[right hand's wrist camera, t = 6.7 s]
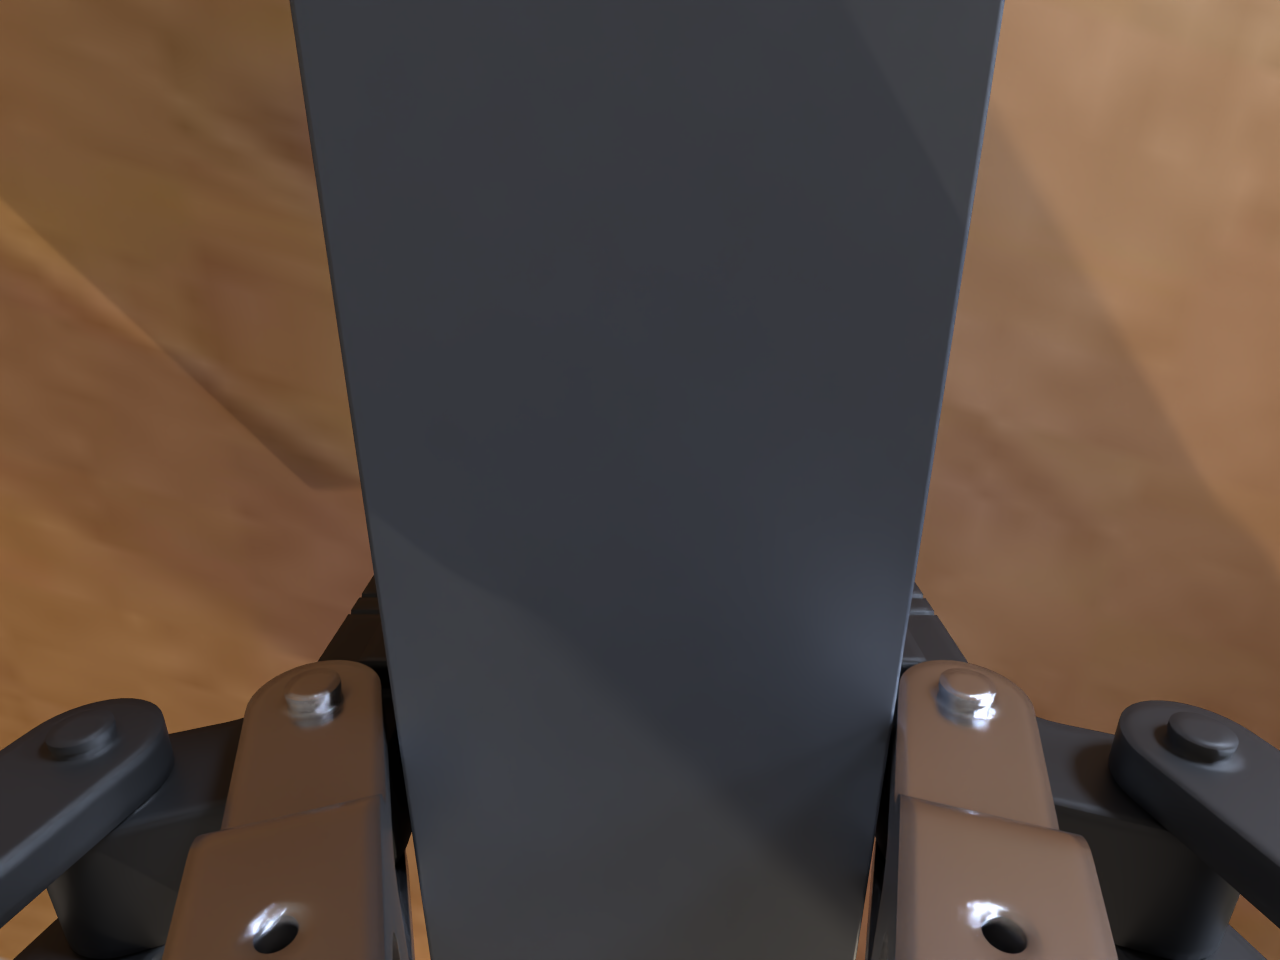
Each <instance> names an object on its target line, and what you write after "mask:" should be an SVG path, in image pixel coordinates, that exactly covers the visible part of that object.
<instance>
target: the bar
mask: <svg viewBox="0 0 1280 960" xmlns="http://www.w3.org/2000/svg"><path fill="white" fill-rule="evenodd" d="M1004 2H1005V0H290V6H291V13H292V20H293V27H294V34H295V40H296V47H297V54H298V61H299V68H300V74H301V81H302V88H303V95H304V102H305V108H306V115H307V122H308V129H309V136H310V142H311V149H312V156H313V163H314V169H315V176H316V183H317V190H318V197H319V203H320V210H321V217H322V224H323V231H324V237H325V244H326V251H327V258H328V265H329V271H330V278H331V285H332V292H333V299H334V305H335V312H336V319H337V326H338V333H339V339H340V346H341V353H342V360H343V366H344V373H345V380H346V387H347V394H348V400H349V407H350V414H351V421H352V428H353V434H354V441H355V448H356V455H357V462H358V468H359V475H360V482H361V489H362V496H363V502H364V509H365V516H366V523H367V529H368V536H369V543H370V550H371V557H372V563H373V570H374V577H375V584H376V591H377V597H378V604H379V611H380V618H381V625H382V631H383V638H384V645H385V652H386V659H387V665H388V672H389V679H390V686H391V693H392V699H393V706H394V713H395V720H396V726H397V733H398V740H399V747H400V754H401V760H402V767H403V774H404V781H405V788H406V794H407V801H408V808H409V815H410V822H411V828H412V835H413V842H414V849H415V856H416V862H417V869H418V876H419V883H420V890H421V896H422V903H423V910H424V917H425V923H426V930H427V937H428V944H429V951H430V957H431V960H856V954H857V947H858V941H859V934H860V928H861V922H862V915H863V909H864V902H865V896H866V889H867V883H868V877H869V870H870V864H871V857H872V851H873V844H874V838H875V832H876V825H877V819H878V812H879V806H880V799H881V793H882V786H883V780H884V774H885V767H886V761H887V754H888V748H889V741H890V735H891V729H892V722H893V716H894V709H895V703H896V696H897V690H898V684H899V677H900V671H901V664H902V658H903V651H904V645H905V639H906V632H907V626H908V619H909V613H910V606H911V600H912V593H913V587H914V581H915V574H916V568H917V561H918V555H919V548H920V542H921V536H922V529H923V523H924V516H925V510H926V503H927V497H928V491H929V484H930V478H931V471H932V465H933V458H934V452H935V446H936V439H937V433H938V426H939V420H940V413H941V407H942V400H943V394H944V388H945V381H946V375H947V368H948V362H949V355H950V349H951V343H952V336H953V330H954V323H955V317H956V310H957V304H958V298H959V291H960V285H961V278H962V272H963V265H964V259H965V252H966V246H967V240H968V233H969V227H970V220H971V214H972V207H973V201H974V195H975V188H976V182H977V175H978V169H979V162H980V156H981V150H982V143H983V137H984V130H985V124H986V117H987V111H988V105H989V98H990V92H991V85H992V79H993V72H994V66H995V59H996V53H997V47H998V40H999V34H1000V27H1001V21H1002V14H1003V8H1004Z"/></svg>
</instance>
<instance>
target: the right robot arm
mask: <svg viewBox="0 0 1280 960" xmlns="http://www.w3.org/2000/svg"><path fill="white" fill-rule="evenodd" d="M411 832H412V828H411V822H410V815H409V808H408V801H407V794H406V788H405V781H404V774H403V767H402V760H401V754H400V747H399V740H398V733H397V726H396V720H395V713H394V706H393V699H392V693H391V686H390V679H389V672H388V665H387V659H386V652H385V645H384V638H383V631H382V625H381V618H380V611H379V604H378V597H377V591H376V584H375V577H374V576H373V577H372V579H371V580H370V582H369V584H368V585H367V587H366V588H365V590H364V591H363V593H362V598H359V599H358V600H357V602H356V604H355V605H354V607H353V608H352V610H351V614H348V616H347V617H346V619H345V620H344V622H343V624H342V625H341V627H340V628H339V630H338V631H337V633H336V634H335V636H334V637H333V639H332V640H331V642H330V644H329V645H328V647H327V648H326V650H325V651H324V653H323V654H322V656H321V657H320V659H319V660H318V662H314V663H310V664H306V665H302V666H299V667H296V668H294V669H291V670H289V671H286V672H284V673H282V674H280V675H278V676H276V677H275V678H273V679H272V680H270V681H269V682H267V683H266V684H264V685H263V686H262V687H261V688H260V689H259V690H258V691H257V692H256V693H255V694H254V695H253V696H252V698H251V699H250V701H249V702H248V705H247V708H246V711H245V715H244V718H241V719H238V720H234V721H230V722H226V723H221V724H216V725H211V726H206V727H201V728H197V729H192V730H187V731H182V732H177V733H172V734H168V731H167V727H166V724H165V720H164V717H163V714H162V711H161V710H160V709H159V708H158V707H157V706H156V705H155V704H153V703H151V702H148V701H145V700H141V699H133V698H120V699H110V700H105V701H99V702H95V703H91V704H87V705H83V706H80V707H78V708H75V709H72V710H69V711H67V712H64V713H62V714H60V715H57V716H55V717H53V718H51V719H49V720H47V721H45V722H44V723H42V724H40V725H39V726H37V727H35V728H34V729H32V730H31V731H29V732H28V733H26V734H25V735H23V736H22V737H20V738H19V739H17V740H16V741H14V742H13V743H11V744H10V745H8V746H7V747H5V748H4V749H2V750H1V751H0V928H1V927H3V926H4V925H5V924H6V923H7V922H8V921H9V920H11V919H12V918H13V917H14V916H15V915H16V914H17V913H19V912H20V911H21V910H22V909H23V908H24V907H25V906H27V905H28V904H29V903H30V902H31V901H32V900H33V899H35V898H36V897H37V896H38V895H39V894H40V893H41V892H42V891H44V890H45V889H46V888H47V891H48V893H49V896H50V899H51V901H52V904H53V906H54V909H55V911H56V914H57V916H58V918H57V919H56V920H55V921H54V922H53V923H52V924H51V925H50V926H49V927H48V928H47V929H46V930H45V931H43V932H42V933H41V934H40V935H39V936H38V937H37V938H36V939H35V940H34V941H33V942H32V943H30V944H29V945H28V946H27V947H26V948H25V949H24V950H23V951H22V952H21V953H20V954H19V955H18V956H16V957H15V958H14V959H13V960H415V953H414V939H413V925H412V911H411V896H410V882H409V868H408V861H407V854H406V847H407V844H408V841H409V838H410V835H411ZM875 837H876V841H875V848H874V855H873V861H872V869H871V883H870V897H869V911H868V925H867V939H866V953H865V960H1267V959H1266V958H1265V957H1264V956H1262V955H1261V954H1260V953H1259V952H1258V951H1257V950H1256V949H1255V948H1254V947H1253V946H1252V945H1251V944H1250V943H1248V942H1247V941H1246V940H1245V939H1244V938H1243V937H1242V936H1241V935H1240V934H1239V933H1238V932H1237V931H1236V930H1234V929H1233V928H1232V927H1231V926H1230V925H1229V924H1228V923H1229V921H1230V918H1231V915H1232V913H1233V910H1234V908H1235V905H1236V903H1237V900H1238V898H1239V895H1240V894H1241V895H1242V896H1243V897H1244V898H1246V899H1247V900H1248V901H1249V902H1250V903H1251V904H1252V905H1253V906H1255V907H1256V908H1257V909H1258V910H1259V911H1260V912H1261V913H1263V914H1264V915H1265V916H1266V917H1267V918H1268V919H1269V920H1271V921H1272V922H1273V923H1274V924H1275V925H1276V926H1277V927H1279V928H1280V751H1279V750H1278V749H1276V748H1275V747H1273V746H1272V745H1270V744H1269V743H1267V742H1266V741H1264V740H1263V739H1261V738H1260V737H1258V736H1257V735H1255V734H1254V733H1252V732H1251V731H1249V730H1248V729H1246V728H1244V727H1243V726H1241V725H1239V724H1237V723H1235V722H1233V721H1232V720H1230V719H1228V718H1225V717H1223V716H1221V715H1218V714H1216V713H1214V712H1211V711H1208V710H1205V709H1202V708H1199V707H1195V706H1192V705H1188V704H1183V703H1178V702H1171V701H1143V702H1139V703H1135V704H1132V705H1131V706H1129V707H1127V708H1126V709H1125V710H1124V711H1123V712H1122V714H1121V716H1120V719H1119V722H1118V726H1117V729H1116V733H1115V735H1113V734H1108V733H1104V732H1099V731H1094V730H1089V729H1084V728H1079V727H1074V726H1069V725H1065V724H1060V723H1056V722H1052V721H1048V720H1045V719H1042V718H1038V717H1036V715H1035V710H1034V707H1033V705H1032V702H1031V701H1030V699H1029V698H1028V696H1027V695H1026V694H1025V693H1024V692H1023V691H1022V689H1020V688H1019V687H1018V686H1017V685H1016V684H1014V683H1013V682H1011V681H1010V680H1008V679H1007V678H1005V677H1004V676H1002V675H1000V674H998V673H996V672H994V671H991V670H989V669H986V668H984V667H981V666H978V665H974V664H970V663H968V662H967V660H966V659H965V657H964V656H963V654H962V653H961V651H960V650H959V648H958V647H957V645H956V644H955V642H954V641H953V639H952V638H951V636H950V635H949V633H948V632H947V630H946V629H945V627H944V626H943V624H942V623H941V621H940V620H939V618H938V616H937V615H934V610H933V609H932V607H931V606H930V604H929V603H928V601H927V600H926V598H923V594H922V592H921V591H920V589H919V588H918V586H917V585H916V583H915V582H914V587H913V593H912V600H911V606H910V613H909V619H908V626H907V632H906V639H905V645H904V651H903V658H902V664H901V671H900V677H899V684H898V690H897V696H896V703H895V709H894V716H893V722H892V729H891V735H890V741H889V748H888V754H887V761H886V767H885V774H884V780H883V786H882V793H881V799H880V806H879V812H878V819H877V825H876V832H875Z"/></svg>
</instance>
